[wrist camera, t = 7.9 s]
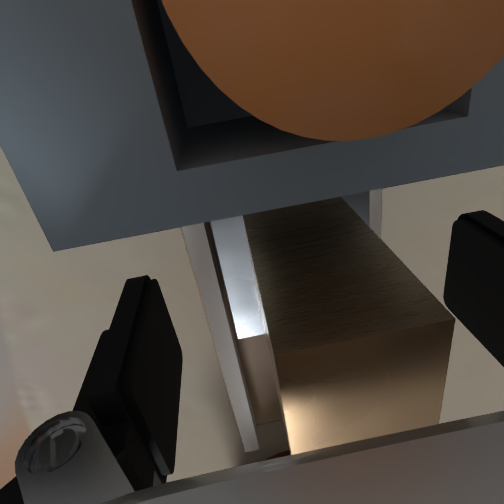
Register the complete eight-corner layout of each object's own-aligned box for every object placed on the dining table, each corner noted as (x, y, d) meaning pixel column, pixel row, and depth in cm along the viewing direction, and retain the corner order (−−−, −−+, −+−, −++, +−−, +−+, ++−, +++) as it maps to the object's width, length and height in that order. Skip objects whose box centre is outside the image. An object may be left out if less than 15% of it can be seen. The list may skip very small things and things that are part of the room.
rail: (359, 87, 14) (393, 95, 12) (361, 381, 23) (382, 424, 20) (158, 124, 14) (147, 141, 11) (235, 406, 22) (239, 453, 20)
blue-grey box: (388, -149, 11) (832, -637, 3) (383, 96, 14) (592, 148, 7) (50, -91, 11) (-354, -461, 3) (126, 144, 14) (31, 255, 6)
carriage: (337, 134, 13) (528, 254, 5) (342, 271, 16) (471, 476, 8) (202, 160, 13) (198, 319, 5) (232, 292, 16) (258, 520, 8)
